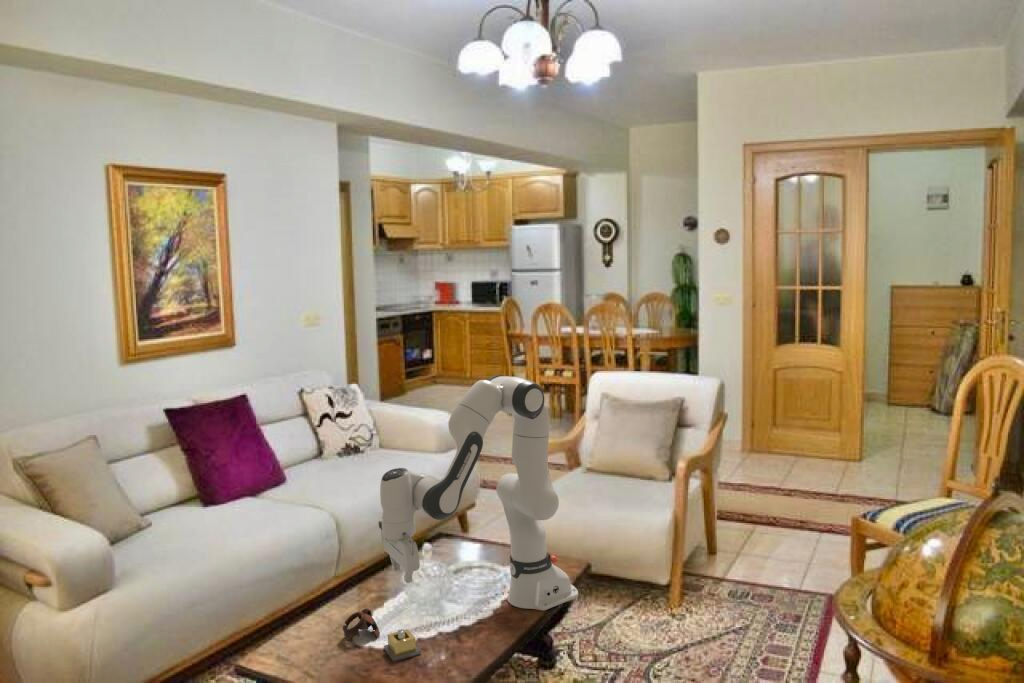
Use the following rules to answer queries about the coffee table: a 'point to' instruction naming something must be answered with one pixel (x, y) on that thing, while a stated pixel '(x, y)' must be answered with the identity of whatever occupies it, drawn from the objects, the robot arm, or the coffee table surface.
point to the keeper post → (406, 655)
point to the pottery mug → (360, 624)
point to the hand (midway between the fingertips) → (402, 575)
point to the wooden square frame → (401, 643)
